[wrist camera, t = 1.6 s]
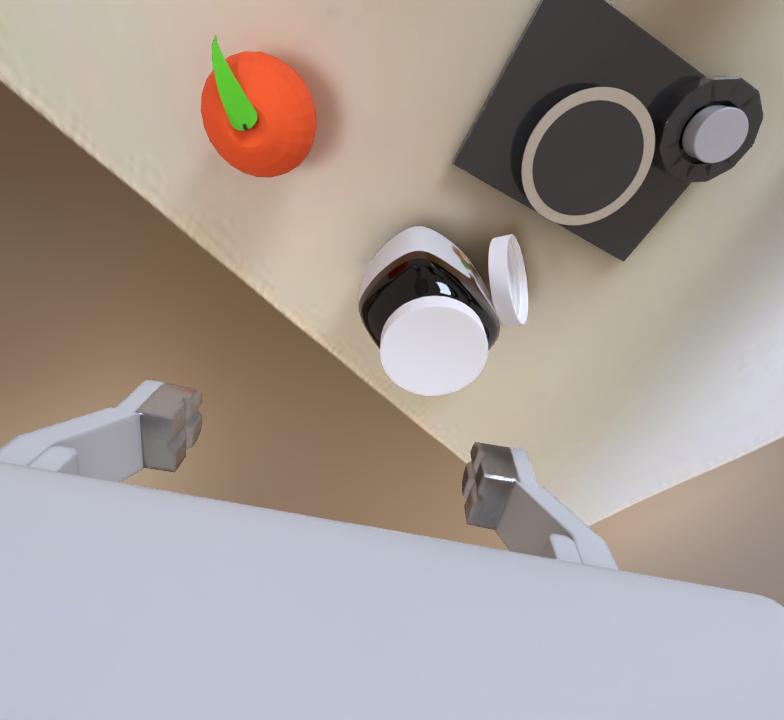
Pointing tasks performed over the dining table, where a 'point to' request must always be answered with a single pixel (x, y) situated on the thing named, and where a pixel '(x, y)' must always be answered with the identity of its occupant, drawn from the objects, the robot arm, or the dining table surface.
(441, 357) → the spread jar
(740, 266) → the dining table surface
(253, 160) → the clementine
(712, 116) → the button
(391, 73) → the dining table surface
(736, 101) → the hob
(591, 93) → the cooking ring
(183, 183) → the dining table surface
